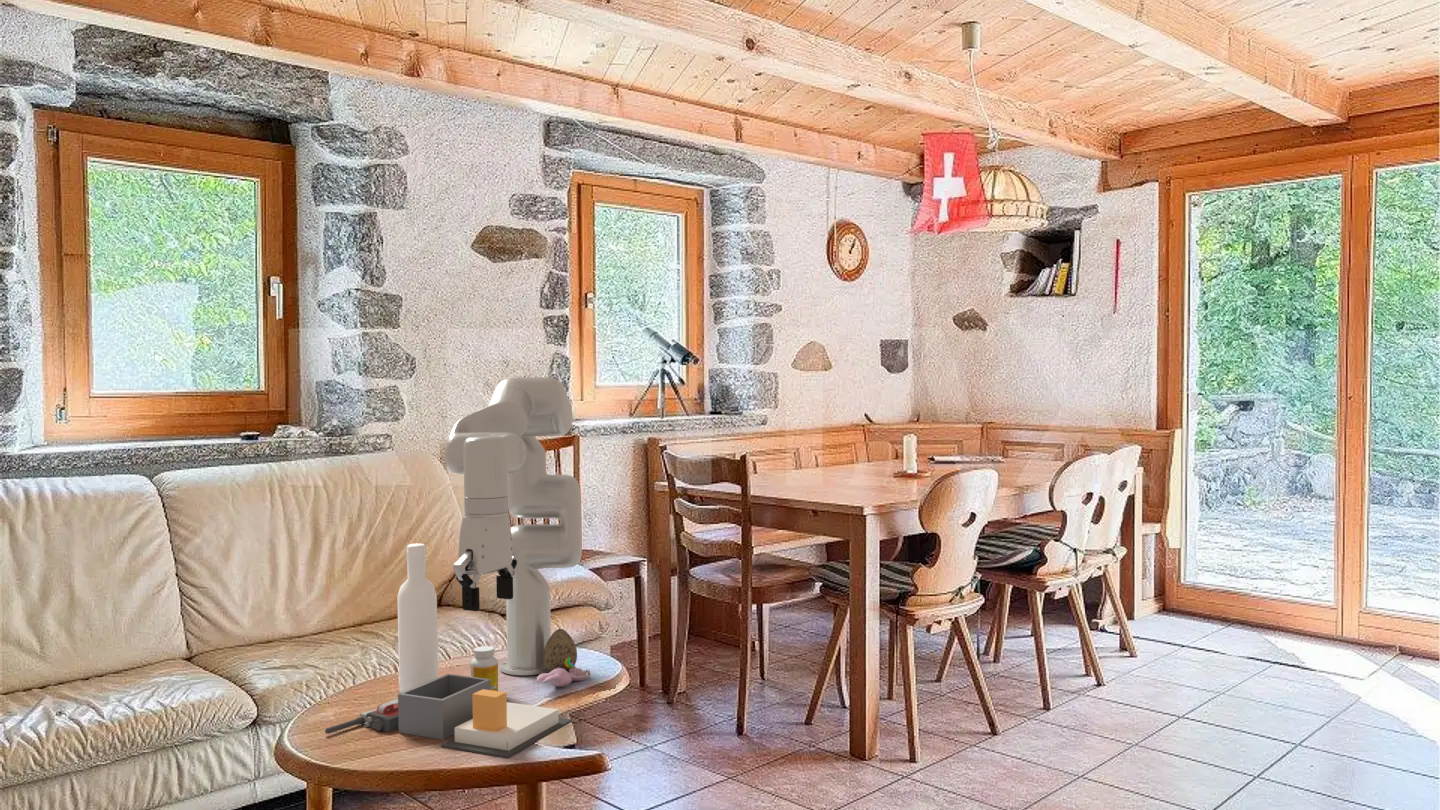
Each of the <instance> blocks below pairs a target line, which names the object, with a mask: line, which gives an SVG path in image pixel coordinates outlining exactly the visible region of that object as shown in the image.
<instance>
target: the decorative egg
mask: <svg viewBox="0 0 1440 810" xmlns="http://www.w3.org/2000/svg"><path fill="white" fill-rule="evenodd" d="M569 657H570V658H571V659H570V662H571V663H573V664H574V666H575V667H576V663H577V659H578V649H577V645H576V643H575V640H574V639H573V638H572V636H571V635H570V634H569V633H568V632H567V631H566V630H565V629H562V628H557V629H556V630H555V631H553V632H552V634H551V637H550V638H549V639H548V641H547V643H546V646H545V649H544V654H543V658H544V663H545V666H546V668H547V669H548V671H549V672H548V673H550V672H551V671H552V670H554V669H557V668H563V669H565V670H566V671H567V672H568V673H569V670H570V669H571V668H568V667H566V666H565V660H566V659H567V658H569Z"/></svg>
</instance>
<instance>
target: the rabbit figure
mask: <svg viewBox="0 0 1440 810" xmlns="http://www.w3.org/2000/svg"><path fill="white" fill-rule="evenodd" d="M570 659H571V658H570V657H569V658H567V659H566V660H565V666H566V667H568V668H571V669H570V670H569V673H568V672H567V671H566V670H565V669H563V668H557V669H554V670H552V671H551V672H547V673H543V674H538V676H537V677H536V682H537V683H539V682H541V681H542V682H541V683H542V684H545V683H547V682H548V681H549V682H550V684H551V685H552V686H555V687H558V688H564V687H566V686H568V685H570V684H571V683H572V681H574V682H577V681H578V682H583V681H584V680H585V679H586V678H587V677H589V678H590V677H592V676H591V671H590V670H591V669H586V670H583V669H582V668H581V667H580V668H579V667H577V666H576V665H575V666H574V664H573V663H571V662H570Z"/></svg>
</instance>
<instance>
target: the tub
mask: <svg viewBox="0 0 1440 810" xmlns="http://www.w3.org/2000/svg"><path fill="white" fill-rule="evenodd" d="M482 689H485V690H491V679H484V678H477V677H471V676H468V675H467V676H466V675H460V674H453V673H446V674H444V675H442V676H439V678H436V679H434V680H431V681H429V682H427V683H424V684H422V685H419V686H417V687H414V688H412V689H409V690H407V691H404V692H402V693H400V692H399V693H398V694H397V699H398V723H399V729H398V734H399V733H400V734H405V735H411V736H418V737H425V738H430V739H437V740H442V741H443V740H445V739H448V738H450V737H452V736H455V727H457V726H459V725H461V724H463V723H465V722H467V721H469V720H471V719H473V703H472V694H473V693H476V692H478V691H480V690H482Z"/></svg>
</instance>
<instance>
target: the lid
mask: <svg viewBox="0 0 1440 810" xmlns="http://www.w3.org/2000/svg"><path fill="white" fill-rule="evenodd" d="M472 703H473V719H471V720H469V721H467V722H465V723H463V724H461V725H459V726H457V727H455V734H454V738H455V742H460V743H466V744H472V745H478V746H484V747H490V748H496V749H502V750H508V751H509V750H511V749H513V748H514V747H516V746H518V745H520V744H521V743H523V742H525V741H527V740H529V739H530V738H532V737H534V736H536V735H538V734H539V733H541V732H543V731H545V730H547V729H548V728H550V727H552V726H554V725H556V724H557V723H559V718H560V717H559V708H551V707H544V706H537V705H531V704H530V705H529V704H524V703H523V704H522V703H516V702H509V701H507V692H505V691H499V690H498V691H492V690H485V689H482V690H480V691H478V692H476V693H473V694H472Z"/></svg>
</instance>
